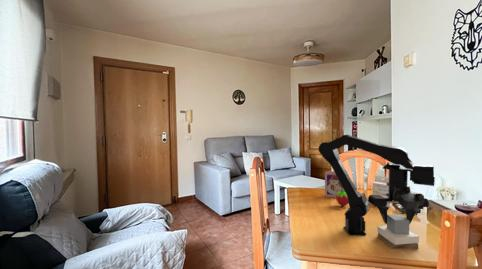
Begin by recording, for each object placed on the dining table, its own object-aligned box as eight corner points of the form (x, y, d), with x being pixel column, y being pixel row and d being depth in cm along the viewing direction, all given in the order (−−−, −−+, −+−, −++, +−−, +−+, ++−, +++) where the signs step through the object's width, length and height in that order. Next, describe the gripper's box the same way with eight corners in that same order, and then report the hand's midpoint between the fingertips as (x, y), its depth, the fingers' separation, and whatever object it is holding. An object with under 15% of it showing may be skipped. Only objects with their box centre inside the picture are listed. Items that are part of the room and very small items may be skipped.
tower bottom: (391, 250, 82) (391, 243, 82) (377, 237, 91) (378, 231, 90) (418, 250, 81) (418, 243, 81) (401, 237, 90) (401, 231, 90)
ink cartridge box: (372, 203, 126) (372, 176, 125) (374, 201, 130) (374, 175, 129) (390, 207, 120) (390, 179, 119) (392, 204, 124) (392, 177, 123)
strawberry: (348, 210, 117) (348, 190, 117) (334, 206, 123) (334, 188, 122) (352, 206, 122) (352, 188, 121) (338, 203, 127) (338, 185, 126)
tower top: (394, 244, 81) (395, 237, 81) (377, 232, 90) (377, 226, 90) (418, 243, 82) (418, 236, 81) (398, 230, 91) (399, 224, 90)
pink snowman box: (324, 196, 139) (324, 172, 138) (325, 193, 146) (325, 169, 145) (345, 198, 134) (345, 173, 134) (345, 195, 141) (345, 170, 140)
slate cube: (394, 233, 83) (394, 220, 83) (386, 227, 88) (387, 214, 88) (409, 234, 83) (409, 220, 83) (400, 227, 88) (400, 214, 88)
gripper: (383, 188, 77) (383, 233, 78) (442, 188, 76) (441, 234, 77) (367, 179, 88) (367, 219, 89) (418, 179, 87) (417, 220, 88)
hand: (397, 223), depth 86 cm, fingers open, 8 cm apart
